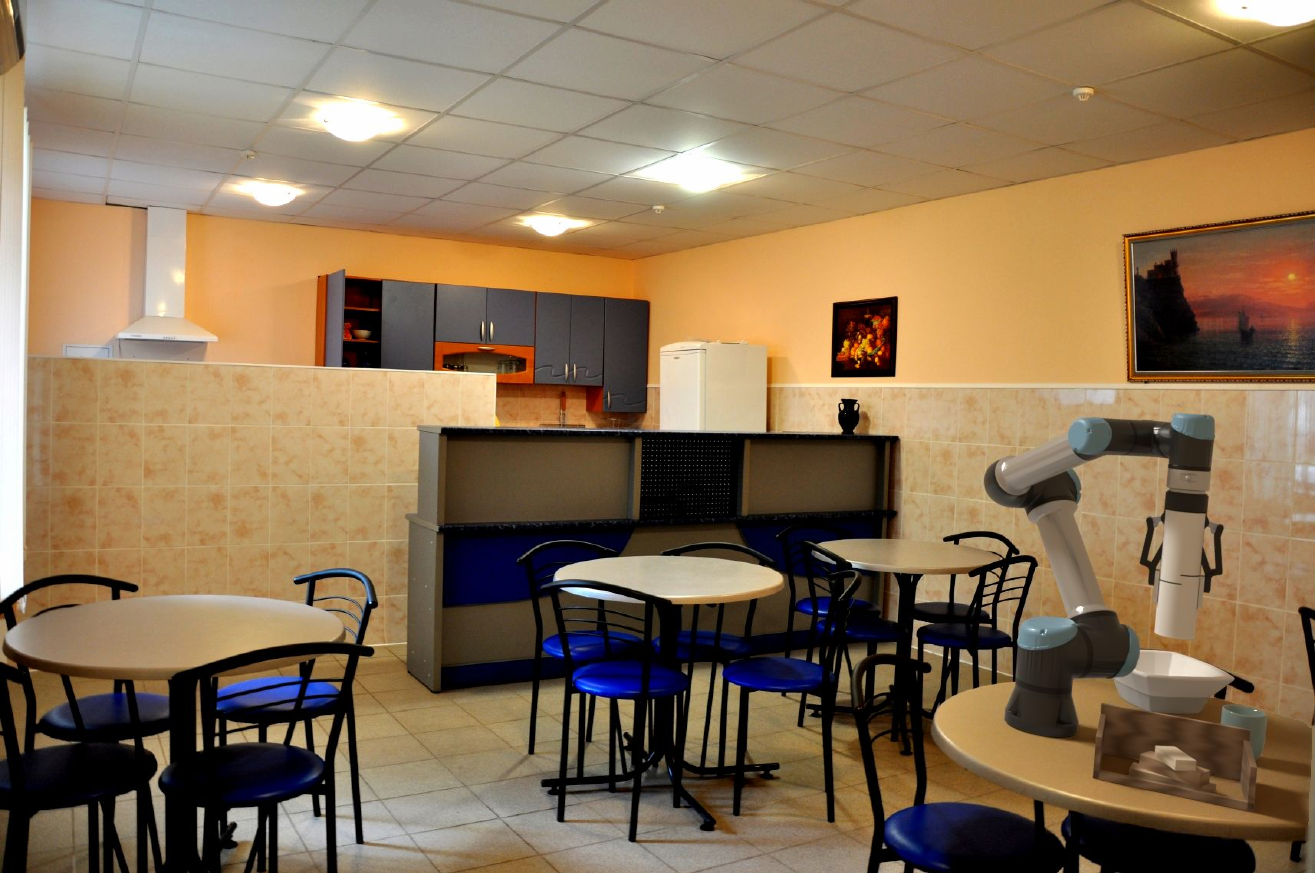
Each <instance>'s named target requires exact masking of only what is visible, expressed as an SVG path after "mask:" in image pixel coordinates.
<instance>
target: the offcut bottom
mask: <svg viewBox="0 0 1315 873" xmlns="http://www.w3.org/2000/svg"><path fill="white" fill-rule="evenodd" d="M1128 776H1132V777H1137V778H1142V779H1147V780H1151V781H1156V782H1161V783H1166V784H1171V785H1175V786H1180V787H1185V788H1190V789H1194V790H1199V791H1204V792H1209V793H1213V794H1217V793H1216V792H1217V791H1216V790H1217V782H1215V781H1212V780H1209V784H1207V785H1205V786H1203V787H1200V788H1197V787H1194V786H1192V785H1189V784H1186V783H1183V782H1180V781H1177V780H1174V779H1171V778H1169V777H1166V776H1163V775H1160V774H1157V773H1154V772H1151V771H1148V770H1146V769H1143V768H1140V767H1139V762H1138V763H1137V762H1132V764H1131V765H1130V767H1129V769H1128Z"/></svg>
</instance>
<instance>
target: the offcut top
mask: <svg viewBox="0 0 1315 873" xmlns="http://www.w3.org/2000/svg"><path fill="white" fill-rule="evenodd" d="M1155 757H1157V758H1158V759H1160V760H1161V761H1162V762H1164V763H1165V764H1167V765H1168V766H1169V767H1171V768H1172V769H1174V770H1175V771H1196V760H1195V759H1193V758H1192V757H1190V756H1189V755H1187V754H1186V753H1184V752H1183V751H1181V750H1180V749H1178V748H1177V747H1175V746H1155Z"/></svg>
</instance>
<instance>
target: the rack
mask: <svg viewBox="0 0 1315 873" xmlns="http://www.w3.org/2000/svg"><path fill="white" fill-rule="evenodd" d="M1094 745H1095V746H1094V757H1093V771H1092V772H1093V773H1092V778H1093V779H1097V780H1101V781H1105V782H1111V783H1115V784H1120V785H1125V786H1128V787H1129V786H1130V787H1135V788H1138V789H1143V790H1147V791H1153V792H1157V793H1162V794H1167V795H1171V796H1175V797H1181V798H1185V799H1190V800H1194V801H1199V802H1204V803H1209V804H1213V805H1216V806H1217V805H1219V806H1223V807H1226V808H1227V807H1228V808H1232V809H1238V810H1242V811H1245V812H1251V813H1254V811H1255V799H1256V790H1257V789H1256V788H1257V775H1258V766H1257V762H1256V761H1255V758H1254V755H1253V751H1252V748H1251V744H1250V729H1246V728H1240V727H1235V726H1229V725H1223V724H1221V723H1217V722H1216V723H1215V722H1212V721H1211V722H1210V721H1205V720H1200V719H1194V718H1190V717H1184V716H1178V715H1174V714H1162V713H1157V712H1151V711H1146V710H1143V709H1141V708H1135V707H1129V706H1123V705H1117V704H1116V705H1115V704H1111V703H1106V702H1101V704H1100V714H1099V719H1098V724H1097V730H1096V734H1095V744H1094ZM1155 746H1175V747H1177V748H1178V749H1180V750H1181V751H1183V752H1184V753H1186V754H1187V755H1189V756H1190V757H1192V758H1193V759H1195V760H1196V766H1198V767H1201V768H1204V769H1207V770H1210V776H1214V777H1220V778H1225V779H1231V780H1236V781H1240V786H1241V791H1242V794H1243V799H1241V798H1237V797H1233V796H1227V795H1224V794H1223V795H1221V794H1217V793H1215V794H1213V793H1209V792H1204V791H1199V790H1194V789H1190V788H1185V787H1180V786H1175V785H1171V784H1166V783H1161V782H1156V781H1151V780H1147V779H1142V778H1137V777H1132V776H1129V774H1128V775H1127V774H1122V773H1116V772H1114V771H1113V772H1112V771H1107V770H1103V769H1101V768H1102V761H1103V756H1104V754H1107V755H1111V756H1115V757H1116V756H1117V757H1121V758H1126V759H1131V760H1134V761H1135V760H1136V761H1139V759H1140V754H1142V753H1145V752H1148V751H1153V752H1155Z"/></svg>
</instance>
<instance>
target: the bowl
mask: <svg viewBox="0 0 1315 873" xmlns="http://www.w3.org/2000/svg"><path fill="white" fill-rule="evenodd" d="M1112 680H1113V681H1114V684H1115V686H1116V690H1117V692H1118V695H1119V697H1121V698H1122V699H1123V701H1126V702H1128V703H1129V704H1130V705H1133V706H1135V707H1136V708H1138V709H1140V710H1146V711H1151V712H1157V713H1162V714H1168V715H1194V714H1200V712H1201V711H1202V709H1203V708H1204V707H1205V705H1206V703H1207V702H1208V701H1209V699H1210V698H1211V697H1213V696H1214V695H1215V694H1217V693H1218V692H1219V691H1221V690H1223V689H1224V688H1225V687H1226V686H1228V685H1229V684H1230V683H1232V682H1233V681H1235V677H1234V676H1232V674H1231V675H1230V674H1229V673H1228V672H1227V671H1224V670H1222V669H1220V668H1218V667H1216V666H1214V665H1213V664H1210V663H1207V662H1205V661H1202V660H1200V659H1197V658H1195V657H1192V656H1189V655H1185V654H1182V653H1179V652H1176V651H1169V650H1168V651H1167V650H1155V649H1140V656H1139V659H1138V663H1137V665H1136V667H1135V669H1134V670H1133V671H1132V672H1131V673H1130V674H1129V675H1127V676H1124V677H1117V678H1112Z"/></svg>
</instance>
